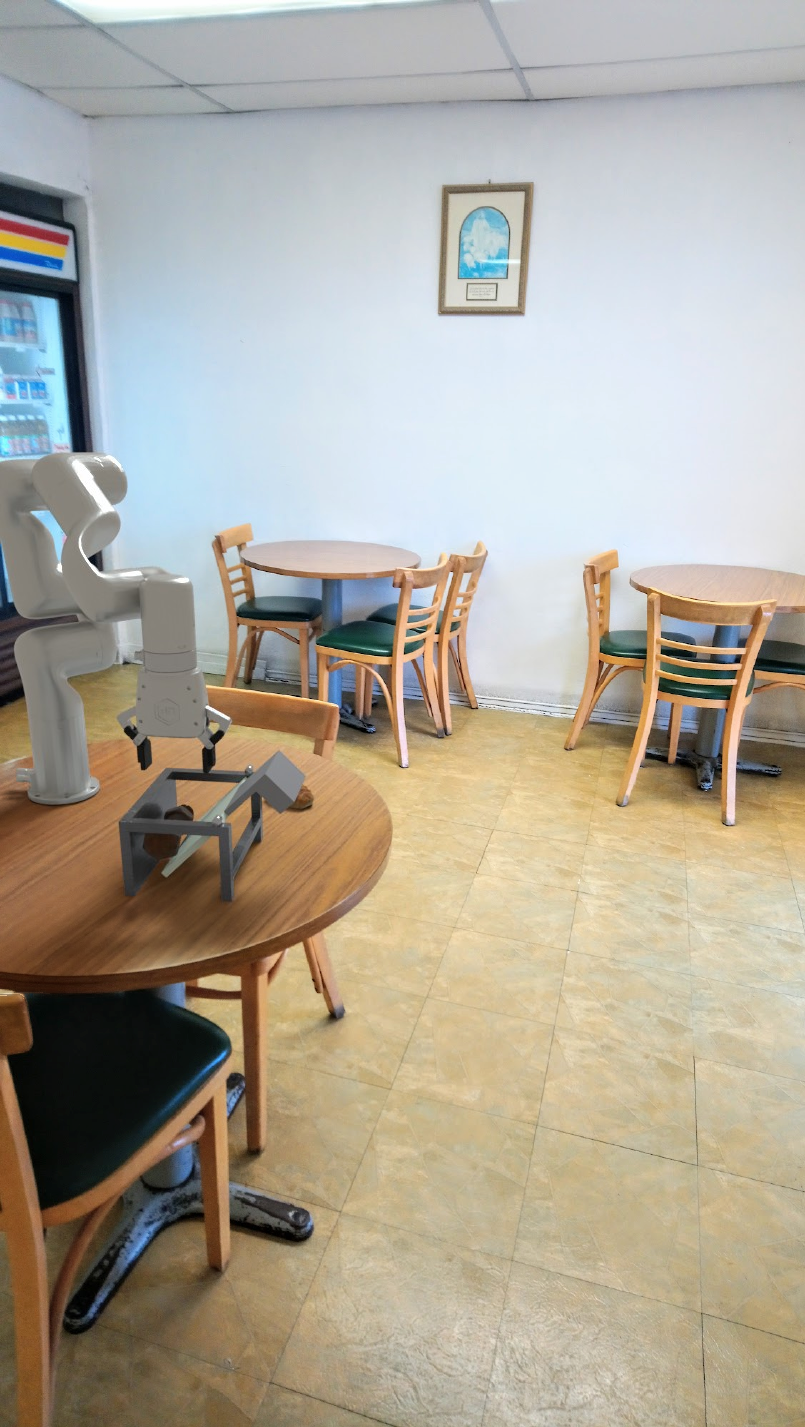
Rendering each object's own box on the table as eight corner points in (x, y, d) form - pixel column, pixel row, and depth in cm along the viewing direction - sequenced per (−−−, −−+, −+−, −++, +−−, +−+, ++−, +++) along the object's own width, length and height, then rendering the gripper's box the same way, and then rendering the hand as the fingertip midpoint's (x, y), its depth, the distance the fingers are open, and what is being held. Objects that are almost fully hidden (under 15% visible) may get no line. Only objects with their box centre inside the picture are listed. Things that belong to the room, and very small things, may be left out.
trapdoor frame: (124, 895, 128) (117, 814, 124) (170, 832, 148) (165, 760, 144) (231, 901, 127) (228, 819, 123) (263, 837, 147) (260, 765, 143)
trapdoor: (190, 899, 130) (161, 872, 128) (221, 846, 146) (195, 822, 145) (289, 812, 124) (259, 783, 123) (309, 767, 140) (283, 741, 139)
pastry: (323, 803, 162) (322, 784, 160) (296, 815, 157) (296, 795, 155) (288, 789, 167) (287, 771, 166) (261, 800, 162) (261, 781, 161)
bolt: (208, 814, 142) (186, 844, 128) (188, 835, 143) (163, 868, 128) (181, 790, 142) (156, 818, 127) (161, 811, 142) (134, 842, 127)
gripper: (102, 664, 124) (112, 775, 129) (222, 669, 123) (226, 780, 128) (122, 651, 131) (130, 757, 137) (235, 656, 130) (239, 762, 136)
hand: (177, 768), depth 133 cm, fingers open, 9 cm apart
